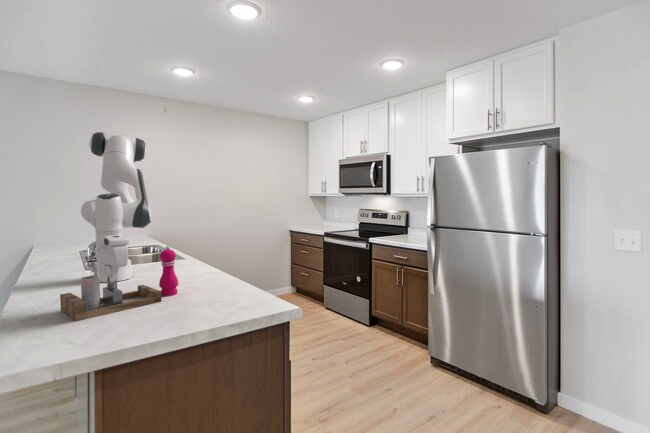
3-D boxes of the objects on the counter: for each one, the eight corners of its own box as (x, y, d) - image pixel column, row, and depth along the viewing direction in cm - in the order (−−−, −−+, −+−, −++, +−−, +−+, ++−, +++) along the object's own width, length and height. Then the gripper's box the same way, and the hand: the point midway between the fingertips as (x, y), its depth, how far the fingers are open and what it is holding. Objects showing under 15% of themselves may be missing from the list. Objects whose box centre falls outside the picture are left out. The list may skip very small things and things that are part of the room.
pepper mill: (171, 296, 143) (170, 247, 142) (155, 296, 145) (153, 246, 144) (182, 292, 150) (180, 244, 149) (166, 291, 152) (165, 244, 151)
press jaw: (103, 303, 134) (101, 264, 133) (112, 301, 136) (110, 262, 135) (113, 309, 127) (111, 267, 126) (123, 307, 130) (121, 265, 129)
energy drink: (98, 307, 130) (96, 274, 129) (102, 310, 126) (100, 277, 126) (80, 311, 126) (79, 277, 126) (84, 314, 123) (82, 279, 122)
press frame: (60, 311, 126) (60, 294, 126) (143, 294, 147) (142, 279, 147) (75, 321, 116) (74, 303, 115) (161, 301, 137) (160, 286, 137)
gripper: (90, 237, 134) (91, 273, 135) (111, 241, 121) (113, 282, 122) (108, 235, 139) (110, 271, 140) (131, 239, 126) (132, 278, 127)
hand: (111, 276), depth 131 cm, fingers closed on press jaw, 3 cm apart
